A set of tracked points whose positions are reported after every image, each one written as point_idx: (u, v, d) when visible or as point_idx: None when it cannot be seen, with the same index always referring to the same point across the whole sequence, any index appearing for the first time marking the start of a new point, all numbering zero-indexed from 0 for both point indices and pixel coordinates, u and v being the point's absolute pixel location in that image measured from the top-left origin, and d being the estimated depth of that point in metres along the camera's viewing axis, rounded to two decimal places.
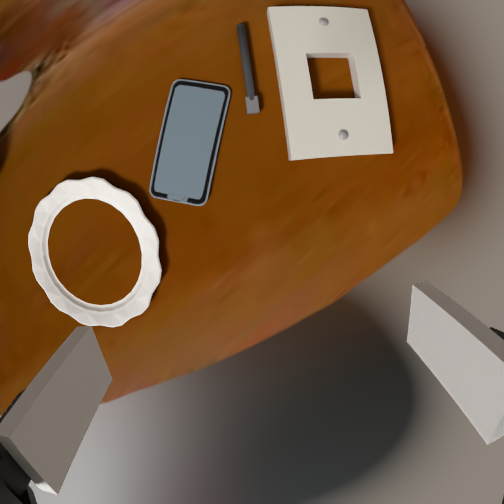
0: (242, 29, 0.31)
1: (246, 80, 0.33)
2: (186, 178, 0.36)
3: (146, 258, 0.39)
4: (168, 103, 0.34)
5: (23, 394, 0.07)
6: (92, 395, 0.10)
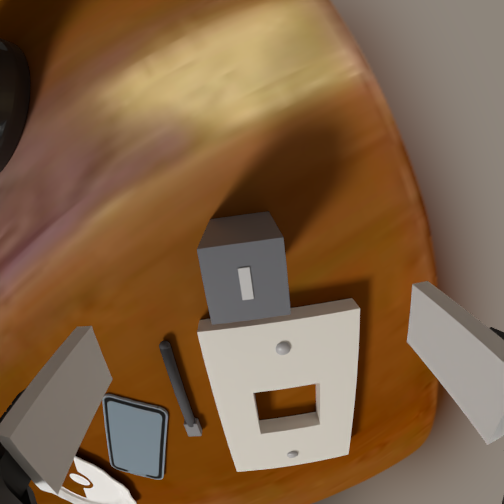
0: (166, 354, 0.26)
1: (182, 410, 0.28)
2: (141, 464, 0.31)
3: (122, 493, 0.34)
4: (104, 413, 0.29)
5: (23, 394, 0.07)
6: (92, 395, 0.10)
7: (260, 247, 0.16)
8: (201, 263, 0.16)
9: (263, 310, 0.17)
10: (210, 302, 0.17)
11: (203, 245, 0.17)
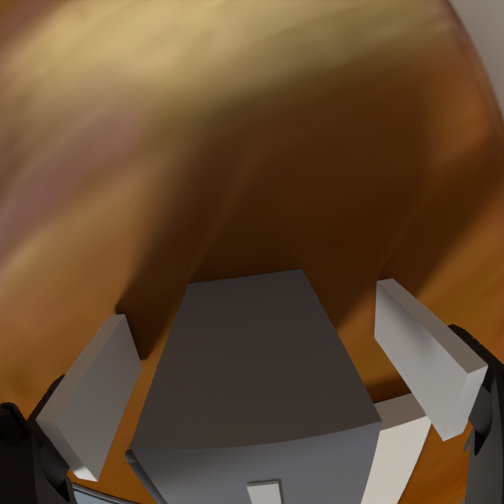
0: (136, 467, 0.14)
1: None
2: None
3: None
4: None
5: (63, 380, 0.08)
6: (126, 382, 0.11)
7: (314, 448, 0.05)
8: (149, 471, 0.05)
9: None
10: None
11: (150, 426, 0.05)
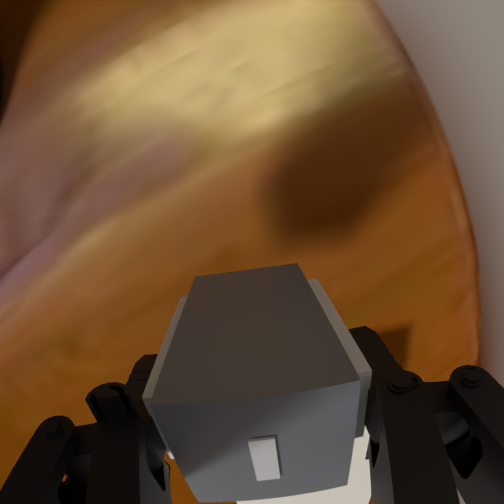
0: None
1: None
2: None
3: None
4: None
5: (159, 357, 0.09)
6: None
7: (304, 403, 0.06)
8: (164, 428, 0.06)
9: (297, 487, 0.07)
10: (191, 480, 0.07)
11: (166, 388, 0.06)
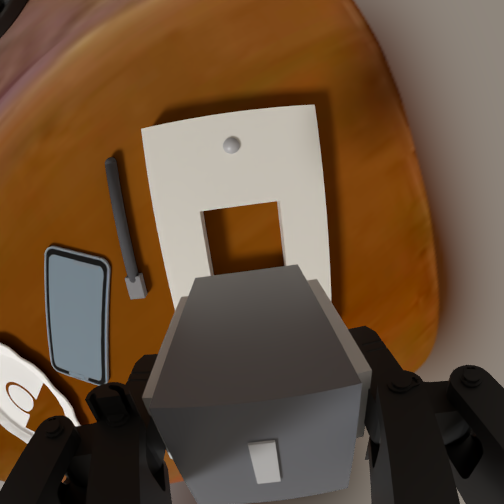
0: (110, 170, 0.23)
1: (123, 254, 0.25)
2: (82, 360, 0.29)
3: (68, 416, 0.31)
4: (46, 276, 0.26)
5: (158, 357, 0.09)
6: None
7: (305, 406, 0.06)
8: (163, 432, 0.06)
9: (298, 490, 0.07)
10: (191, 483, 0.07)
11: (166, 391, 0.06)
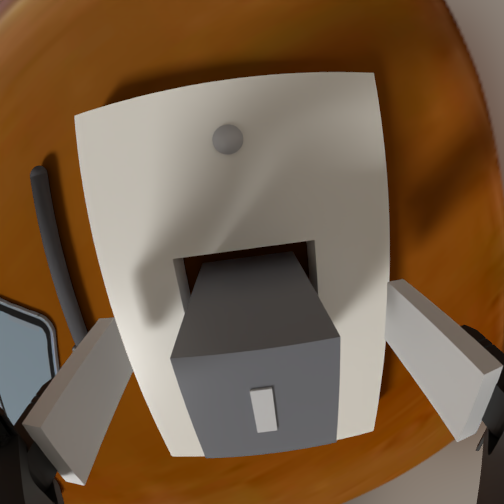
0: (36, 186, 0.13)
1: (65, 316, 0.15)
2: None
3: None
4: None
5: (50, 384, 0.08)
6: (115, 386, 0.11)
7: (295, 355, 0.08)
8: (180, 381, 0.08)
9: (292, 441, 0.09)
10: (201, 433, 0.09)
11: (183, 346, 0.08)
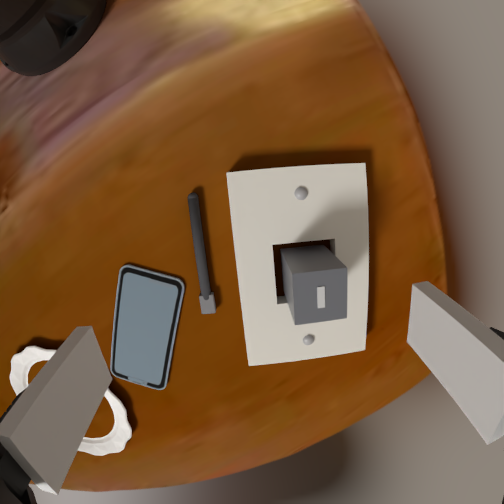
0: (193, 204, 0.29)
1: (199, 276, 0.31)
2: (144, 366, 0.34)
3: (117, 418, 0.36)
4: (118, 291, 0.32)
5: (23, 394, 0.07)
6: (92, 395, 0.10)
7: (332, 273, 0.24)
8: (293, 283, 0.24)
9: (330, 315, 0.25)
10: (296, 309, 0.25)
11: (294, 271, 0.24)
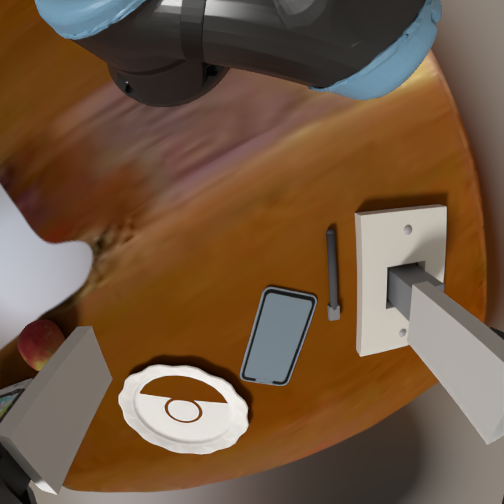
0: (332, 238, 0.37)
1: (331, 292, 0.40)
2: (273, 368, 0.43)
3: (235, 416, 0.45)
4: (258, 308, 0.40)
5: (23, 394, 0.07)
6: (92, 395, 0.10)
7: None
8: None
9: None
10: None
11: None
